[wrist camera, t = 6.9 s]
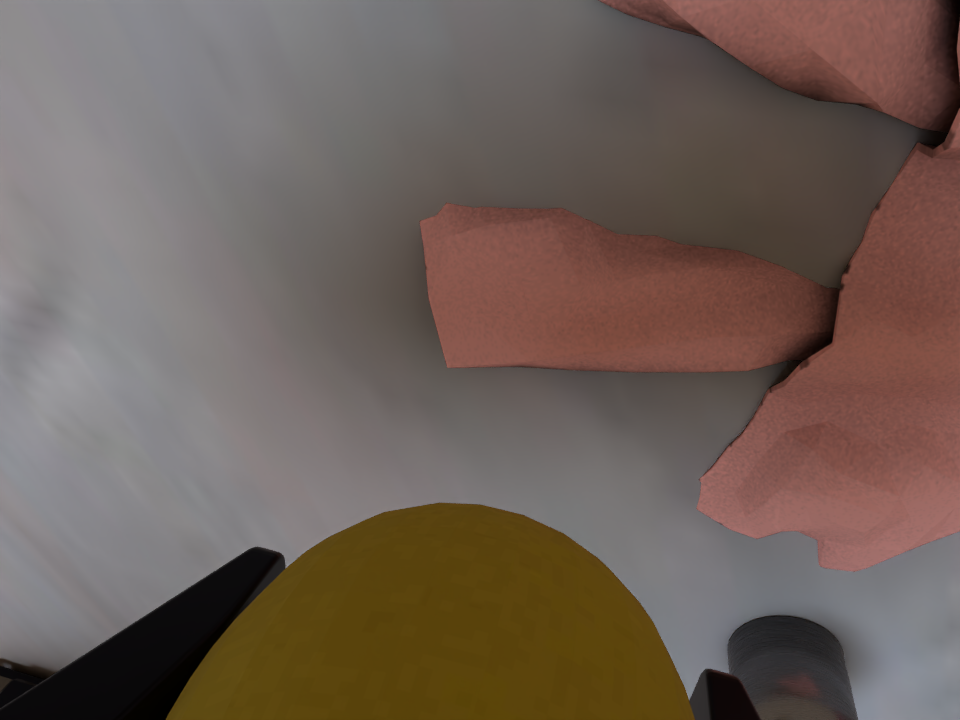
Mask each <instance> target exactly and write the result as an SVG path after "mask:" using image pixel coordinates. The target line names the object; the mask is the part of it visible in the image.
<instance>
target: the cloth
mask: <svg viewBox="0 0 960 720" xmlns="http://www.w3.org/2000/svg"><path fill="white" fill-rule="evenodd" d="M599 1H601V2H603V3H605V4H607V5H609V6H611V7H613V8H615V9H617V10H619V11H621V12H623V13H625V14H628V15H631V16H634V17H637V18H640V19H643V20H646V21H649V22H652V23H655V24H658V25H661V26H664V27H667V28H671V29H675V30H679V31H682V32H686V33H690V34H694V35H697V36H701V37H704V38H706V39H708V40H709V41H711V42H713V43H715V44H716V45H718V46H719V47H721V48H722V49H724V50H725V51H726V52H728V53H729V54H731V55H732V56H734V57H735V58H737V59H738V60H740V61H741V62H742V63H744V64H745V65H747V66H748V67H750V68H751V69H753V70H755V71H756V72H758V73H759V74H761V75H763V76H764V77H766V78H767V79H769V80H770V81H772V82H774V83H775V84H777V85H778V86H780V87H782V88H784V89H787V90H790V91H792V92H795V93H798V94H801V95H804V96H806V97H809V98H812V99H815V100H818V101H828V102H838V103H849V104H857V105H861V106H864V107H867V108H871V109H874V110H877V111H881V112H884V113H887V114H889V115H891V116H893V117H896V118H898V119H900V120H903V121H905V122H907V123H909V124H912V125H914V126H916V127H919V128H922V129H928V130H934V131H940V132H946V133H948V135H947V137H946V140H945V142H944V143H942V144H941V145H939V146H938V147H936V146H932V145H927V144H923V143H919V142H918V143H917V144H916V146H915V147H914V148H913V150H912V151H911V153H910V154H909V156H908V157H907V159H906V161H905V163H904V164H903V166H902V168H901V169H900V171H899V173H898V175H897V176H896V178H895V180H894V182H893V183H892V185H891V186H890V188H889V189H888V191H887V192H886V193H885V195H884V196H883V198H882V199H881V201H880V202H879V204H878V205H877V206H876V208H875V209H874V211H873V212H872V214H871V216H870V219H869V222H868V225H867V227H866V230H865V233H864V236H863V239H862V242H861V244H860V245H859V247H858V248H857V250H856V251H855V253H854V254H853V256H852V258H851V260H850V262H849V264H848V265H847V267H846V269H845V271H844V273H843V275H842V279H841V286H840V289H837V288H826V287H824V286H822V285H820V284H818V283H816V282H813V281H811V280H809V279H807V278H805V277H803V276H801V275H799V274H797V273H794V272H792V271H789V270H787V269H786V268H784V267H782V266H779V265H776V264H773V263H771V262H768V261H765V260H762V259H759V258H757V257H754V256H751V255H748V254H745V253H743V252H740V251H735V250H727V249H719V248H710V247H701V246H691V245H682V244H679V243H676V242H673V241H670V240H667V239H664V238H661V237H658V236H648V235H619V234H616V233H614V232H612V231H610V230H608V229H606V228H603V227H601V226H599V225H597V224H595V223H593V222H591V221H589V220H587V219H584V218H582V217H580V216H578V215H576V214H574V213H571V212H569V211H567V210H565V209H562V208H553V209H517V208H495V207H478V208H473V207H467V206H461V205H455V204H450V203H446V204H445V205H444V207H443V208H442V209H441V210H440V211H439V213H438V214H437V215H436V216H434V217H431V218H428V219H425V220H421V221H420V227H421V234H422V240H423V246H424V256H425V266H426V276H427V286H428V296H429V302H430V305H431V309H432V313H433V317H434V320H435V324H436V328H437V331H438V335H439V339H440V343H441V346H442V350H443V354H444V357H445V361H446V365H447V368H471V367H531V368H547V369H564V370H583V371H615V372H729V371H750V370H754V369H757V368H761V367H765V366H769V365H773V364H776V363H780V362H784V361H788V360H804V361H803V362H801V363H800V364H799V366H798V367H797V368H796V369H795V370H794V371H793V372H792V373H791V374H790V375H789V376H788V377H787V378H786V379H785V380H784V381H783V382H781V383H779V384H777V385H775V386H773V387H771V388H769V389H768V390H767V392H766V394H765V396H764V398H763V399H762V401H761V403H760V405H759V407H758V409H757V411H756V413H755V415H754V416H753V418H752V419H751V421H750V422H749V424H748V425H747V427H746V428H745V430H744V431H743V432H742V434H741V435H740V436H739V437H738V438H737V439H735V440H734V441H733V442H732V443H731V444H730V445H729V446H728V447H727V448H726V450H725V451H724V452H723V453H722V455H721V456H720V457H719V458H718V460H717V461H716V462H715V463H714V465H713V466H712V467H711V468H710V469H709V470H708V471H707V472H706V473H705V474H704V475H703V476H702V477H701V478H700V479H699V480H700V482H701V491H700V498H699V501H698V505H697V508H696V509H697V510H699V511H700V512H702V513H704V514H705V515H707V516H708V517H710V518H712V519H713V520H715V521H717V522H718V523H720V524H722V525H723V526H725V527H727V528H728V529H730V530H733V531H736V532H739V533H741V534H744V535H747V536H750V537H753V538H756V539H759V538H762V537H765V536H769V535H772V534H775V533H779V532H782V531H798V532H800V533H803V534H805V535H807V536H809V537H812V538H814V539H816V540H818V558H819V565H820V566H821V567H824V568H829V569H837V570H845V571H853V572H855V571H858V570H862V569H865V568H868V567H870V566H873V565H875V564H877V563H880V562H882V561H885V560H887V559H889V558H892V557H894V556H896V555H899V554H901V553H903V552H906V551H908V550H911V549H913V548H916V547H918V546H921V545H924V544H926V543H929V542H931V541H934V540H937V539H939V538H942V537H945V536H948V535H951V534H953V533H956V532H959V531H960V0H599Z"/></svg>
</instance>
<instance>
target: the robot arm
mask: <svg viewBox="0 0 960 720" xmlns="http://www.w3.org/2000/svg"><path fill="white" fill-rule="evenodd" d="M284 570H285V559H284V556H283V555H282V554H281V553H279V552H276V551H273V550H269V549H265V548H261V547H254V548H251V549H249V550H247V551H246V552H244V553H242V554H241V555H239V556H238V557H236V558H235V559H233V560H231V561H230V562H228V563H227V564H225V565H224V566H222V567H221V568H219V569H217V570H216V571H214V572H213V573H211V574H210V575H208V576H206V577H205V578H203V579H202V580H200V581H199V582H197V583H196V584H194V585H192V586H191V587H189V588H188V589H186V590H185V591H183V592H181V593H180V594H178V595H177V596H175V597H174V598H172V599H171V600H169V601H167V602H166V603H164V604H163V605H161V606H160V607H158V608H156V609H155V610H153V611H152V612H150V613H149V614H147V615H146V616H144V617H142V618H141V619H139V620H138V621H136V622H135V623H133V624H131V625H130V626H128V627H127V628H125V629H124V630H122V631H121V632H119V633H117V634H116V635H114V636H113V637H111V638H110V639H108V640H106V641H105V642H103V643H102V644H100V645H99V646H97V647H96V648H94V649H92V650H91V651H89V652H88V653H86V654H85V655H83V656H81V657H80V658H78V659H77V660H75V661H74V662H72V663H71V664H69V665H67V666H66V667H64V668H63V669H61V670H60V671H58V672H56V673H55V674H53V675H52V676H50V677H49V678H47V679H46V680H42V679H39V678H36V677H33V676H30V675H27V674H24V673H20V672H17V671H14V670H11V669H8V668H5V667H2V666H0V720H166V718H167V716H168V714H169V712H170V711H171V709H172V707H173V706H174V704H175V702H176V701H177V699H178V697H179V696H180V694H181V692H182V691H183V689H184V687H185V686H186V684H187V682H188V681H189V679H190V677H191V676H192V675H193V673H194V672H195V670H196V669H197V668H198V666H199V665H200V663H201V662H202V660H203V659H204V658H205V656H206V655H207V653H208V652H209V651H210V649H211V648H212V646H213V645H214V644H215V643H216V642H217V640H218V639H219V638H220V637H221V636H222V634H223V633H224V632H225V631H226V630H227V628H228V627H229V626H230V625H231V624H232V622H233V621H234V620H235V619H236V618H237V617H238V616H239V615H240V614H241V613H242V612H243V611H244V610H245V609H246V608H247V607H248V606H249V605H250V603H251V602H252V601H253V600H254V599H255V598H256V597H257V596H258V595H259V594H260V593H261V592H262V591H263V590H264V589H265V588H266V587H267V586H268V585H269V584H270V583H271V582H272V581H273V580H274V579H275V578H277V577H278V576H279V575H280V574H281V573H282V572H283V571H284ZM689 702H690V705H691V709H692V712H693V715H694V718H695V720H761V718H760V716H759V714H758V712H757V710H756V708H755V706H754V704H753V703H752V701H751V699H750V697H749V695H748V693H747V691H746V689H745V687H744V685H743V683H742V682H741V680H740V679H739V678H737V677H736V676H734V675H732V674H728V673H724V672H720V671H717V670H713V669H705V670H704V671H703V672H702V673H701V675H700V677H699V680H698V682H697V684H696V687H695V689H694V691H693V694H692V696H691V698H690V701H689Z"/></svg>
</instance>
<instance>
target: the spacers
mask: <svg viewBox="0 0 960 720" xmlns="http://www.w3.org/2000/svg"><path fill="white" fill-rule="evenodd" d="M728 664H729V674H732V675H734V676H736V677H737V678H739V679H740V680H741V682H742V683H743V685H744V687H745V689H746V691H747V693H748V695H749V697H750V699H751V701H752V703H753V704H754V706H755V708H756V710H757V712H758V714H759V716H760V718H761V720H858V717H857V712H856V708H855V703H854V699H853V694H852V690H851V686H850V681H849V677H848V672H847V668H846V663H845V659H844V654H843V650H842V647H841V645H840V643H839V642H838V640H837V639H836V638H835V637H834V636H833V635H832V634H831V633H830V632H829V631H827V630H826V629H824V628H823V627H821V626H819V625H817V624H815V623H812V622H810V621H807V620H804V619H799V618H794V617H784V616H775V617H766V618H761V619H757V620H754V621H751V622H749V623H747V624H745V625H743V626H742V627H740V628H739V629H738V630H737V631H735V633H734V634H733V635H732V637H731V638H730V640H729V643H728Z"/></svg>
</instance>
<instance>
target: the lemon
mask: <svg viewBox="0 0 960 720" xmlns="http://www.w3.org/2000/svg"><path fill="white" fill-rule="evenodd" d="M166 720H695V718H694V715H693V712H692V709H691V705H690V702H689V699H688V696H687V693H686V690H685V687H684V685H683V683H682V681H681V679H680V676H679V674H678V672H677V670H676V668H675V666H674V663H673V661H672V659H671V657H670V655H669V653H668V651H667V649H666V647H665V645H664V643H663V641H662V639H661V637H660V635H659V633H658V631H657V629H656V627H655V625H654V623H653V621H652V620H651V618H650V617H649V615H648V614H647V613H646V611H645V610H644V608H643V607H642V605H641V604H640V602H639V601H638V600H637V599H636V598H635V597H634V596H633V595H632V594H631V592H630V591H629V590H628V589H627V588H626V587H625V586H624V585H623V584H622V582H621V581H620V580H619V579H618V578H617V577H616V576H615V575H614V574H613V572H612V571H611V570H610V569H609V568H608V567H607V566H606V565H605V564H604V563H602V562H601V561H600V560H599V559H598V558H597V557H596V556H594V555H593V554H591V553H590V552H589V551H587V550H586V549H584V548H583V547H582V546H580V545H579V544H577V543H576V542H575V541H573V540H572V539H570V538H569V537H568V536H566V535H565V534H563V533H561V532H559V531H557V530H555V529H553V528H550V527H548V526H546V525H544V524H542V523H540V522H537V521H535V520H533V519H531V518H529V517H526V516H524V515H521V514H517V513H513V512H509V511H505V510H500V509H496V508H492V507H488V506H484V505H477V504H456V503H435V504H429V505H423V506H417V507H411V508H405V509H399V510H394V511H388V512H383V513H381V514H379V515H376V516H374V517H371V518H369V519H366V520H364V521H362V522H360V523H358V524H356V525H353V526H351V527H349V528H347V529H345V530H343V531H341V532H339V533H336V534H334V535H332V536H330V537H328V538H327V539H325V540H323V541H322V542H320V543H319V544H317V545H315V546H314V547H312V548H311V549H309V550H307V551H306V552H305V553H304V554H302V555H301V556H300V557H299V558H298V559H297V560H295V561H294V562H293V563H292V564H291V565H289V566H288V567H287V568H286V569H285V570H284V571H283V572H282V573H281V574H280V575H279V576H278V577H277V578H275V579H274V580H273V581H272V582H271V583H270V584H269V585H268V586H267V587H266V588H265V589H264V590H263V591H262V592H261V593H260V594H259V595H258V596H257V597H256V598H255V599H254V600H253V601H252V602H251V603H250V605H249V606H248V607H247V608H246V609H245V610H244V611H243V612H242V613H241V614H240V615H239V616H238V617H237V618H236V619H235V620H234V621H233V622H232V624H231V625H230V626H229V627H228V628H227V630H226V631H225V632H224V633H223V634H222V636H221V637H220V638H219V639H218V640H217V642H216V643H215V644H214V645H213V646H212V648H211V649H210V651H209V652H208V653H207V655H206V656H205V658H204V659H203V660H202V662H201V663H200V665H199V666H198V668H197V669H196V670H195V672H194V673H193V675H192V676H191V677H190V679H189V681H188V682H187V684H186V686H185V687H184V689H183V691H182V692H181V694H180V696H179V697H178V699H177V701H176V702H175V704H174V706H173V707H172V709H171V711H170V712H169V714H168V716H167V718H166Z"/></svg>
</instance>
